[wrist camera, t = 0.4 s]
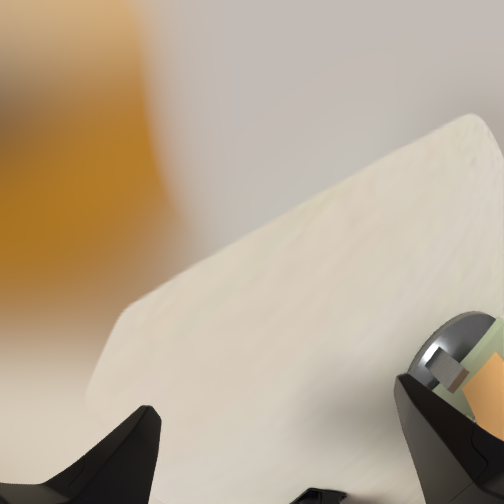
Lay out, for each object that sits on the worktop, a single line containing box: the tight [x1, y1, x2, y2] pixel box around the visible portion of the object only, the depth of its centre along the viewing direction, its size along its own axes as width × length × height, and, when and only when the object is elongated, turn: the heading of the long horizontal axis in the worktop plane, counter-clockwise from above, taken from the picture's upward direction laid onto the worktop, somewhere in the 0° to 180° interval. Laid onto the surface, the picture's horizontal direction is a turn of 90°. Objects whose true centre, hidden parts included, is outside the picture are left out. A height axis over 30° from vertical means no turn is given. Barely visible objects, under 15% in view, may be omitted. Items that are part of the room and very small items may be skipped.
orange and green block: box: [432, 316, 504, 441], centre depth 14 cm, size 14×10×11 cm
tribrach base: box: [407, 311, 496, 394], centre depth 19 cm, size 15×15×6 cm
